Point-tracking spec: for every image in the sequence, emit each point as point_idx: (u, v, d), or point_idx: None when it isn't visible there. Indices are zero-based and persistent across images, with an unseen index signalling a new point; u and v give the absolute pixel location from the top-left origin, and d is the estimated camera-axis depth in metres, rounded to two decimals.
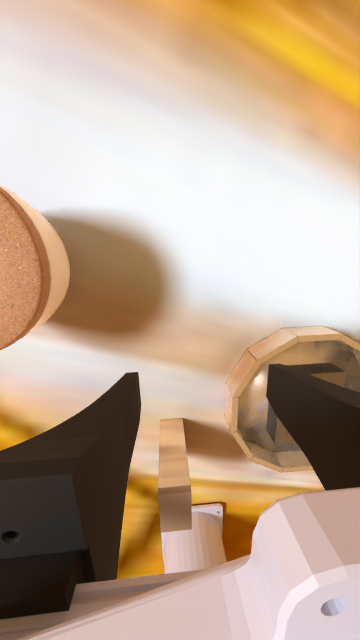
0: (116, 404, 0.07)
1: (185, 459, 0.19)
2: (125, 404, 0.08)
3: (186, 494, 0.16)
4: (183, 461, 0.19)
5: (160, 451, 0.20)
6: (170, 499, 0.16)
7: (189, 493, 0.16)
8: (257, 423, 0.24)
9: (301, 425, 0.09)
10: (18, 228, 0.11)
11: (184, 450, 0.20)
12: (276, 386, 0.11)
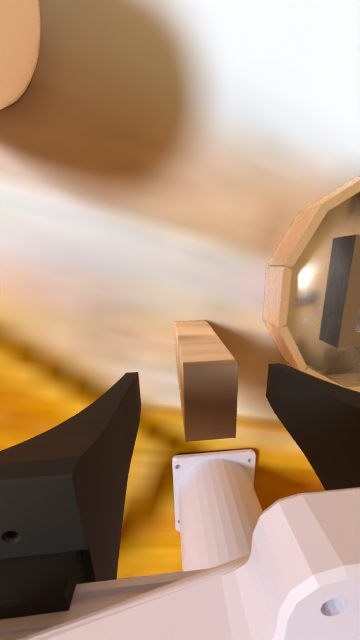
0: (116, 404, 0.07)
1: (219, 342, 0.12)
2: (125, 404, 0.08)
3: (230, 369, 0.10)
4: (217, 344, 0.12)
5: (180, 338, 0.13)
6: (203, 377, 0.10)
7: (235, 367, 0.10)
8: (308, 328, 0.18)
9: (301, 425, 0.09)
10: None
11: (215, 337, 0.13)
12: (276, 386, 0.11)
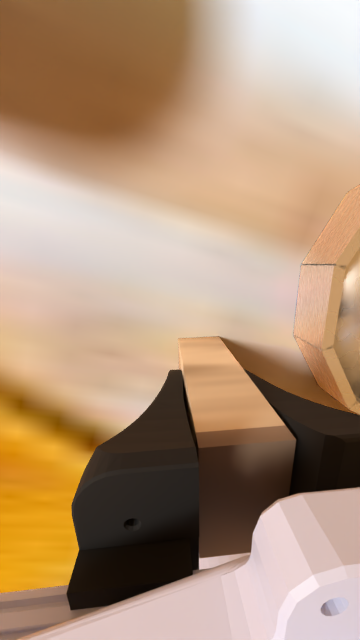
0: (181, 399, 0.08)
1: (247, 382, 0.08)
2: None
3: (281, 448, 0.05)
4: (246, 385, 0.08)
5: (187, 371, 0.09)
6: (233, 463, 0.05)
7: (290, 445, 0.05)
8: (353, 346, 0.13)
9: None
10: None
11: (239, 370, 0.09)
12: None
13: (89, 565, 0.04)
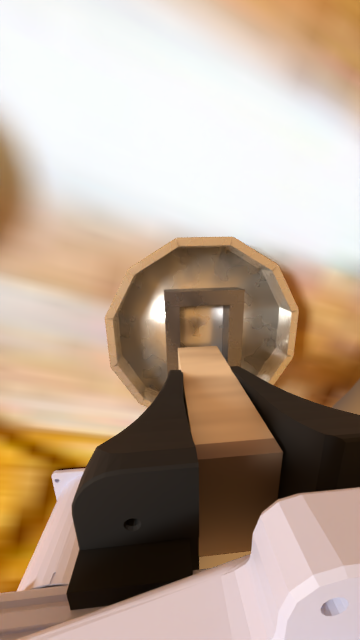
0: (181, 399, 0.08)
1: (241, 394, 0.09)
2: None
3: (270, 459, 0.06)
4: (240, 397, 0.08)
5: (186, 383, 0.10)
6: (227, 472, 0.06)
7: (278, 456, 0.06)
8: (155, 363, 0.20)
9: None
10: None
11: (235, 382, 0.10)
12: None
13: (89, 565, 0.04)
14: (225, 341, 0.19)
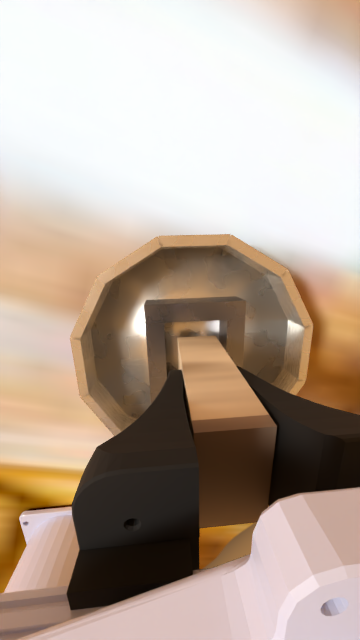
0: (181, 400, 0.08)
1: (239, 377, 0.09)
2: None
3: (264, 433, 0.06)
4: (237, 380, 0.09)
5: (185, 368, 0.10)
6: (223, 446, 0.06)
7: (272, 431, 0.06)
8: (138, 387, 0.17)
9: None
10: None
11: (232, 367, 0.10)
12: None
13: (89, 565, 0.04)
14: None
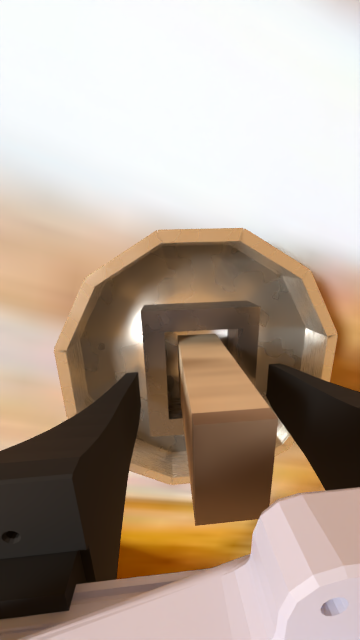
0: (116, 404, 0.07)
1: (239, 373, 0.09)
2: (125, 404, 0.08)
3: (265, 426, 0.06)
4: (237, 375, 0.09)
5: (185, 364, 0.10)
6: (224, 439, 0.06)
7: (273, 423, 0.06)
8: None
9: (301, 425, 0.09)
10: None
11: (233, 363, 0.10)
12: (276, 386, 0.11)
13: None
14: None
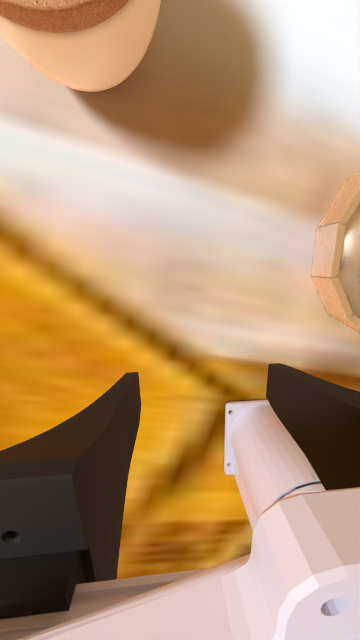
0: (116, 404, 0.07)
1: None
2: (125, 404, 0.08)
3: None
4: None
5: None
6: None
7: None
8: (350, 284, 0.20)
9: (301, 425, 0.09)
10: None
11: None
12: (276, 386, 0.11)
13: None
14: None
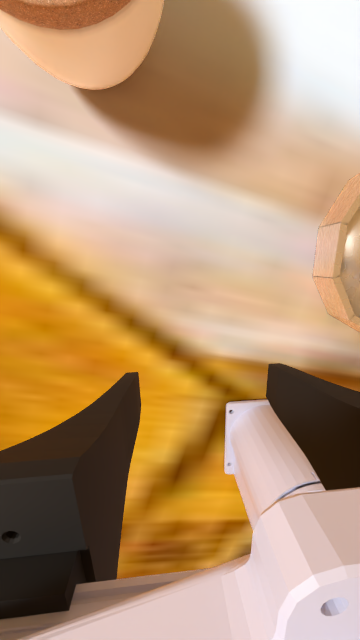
0: (116, 404, 0.07)
1: None
2: (125, 404, 0.08)
3: None
4: None
5: None
6: None
7: None
8: (352, 284, 0.20)
9: (301, 425, 0.09)
10: None
11: None
12: (276, 386, 0.11)
13: None
14: None
